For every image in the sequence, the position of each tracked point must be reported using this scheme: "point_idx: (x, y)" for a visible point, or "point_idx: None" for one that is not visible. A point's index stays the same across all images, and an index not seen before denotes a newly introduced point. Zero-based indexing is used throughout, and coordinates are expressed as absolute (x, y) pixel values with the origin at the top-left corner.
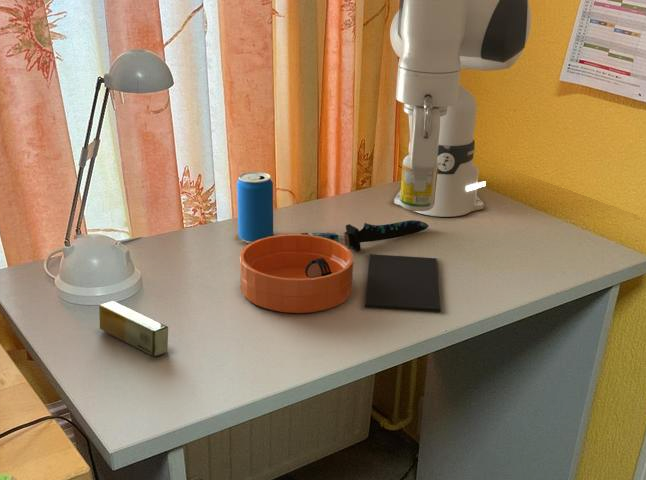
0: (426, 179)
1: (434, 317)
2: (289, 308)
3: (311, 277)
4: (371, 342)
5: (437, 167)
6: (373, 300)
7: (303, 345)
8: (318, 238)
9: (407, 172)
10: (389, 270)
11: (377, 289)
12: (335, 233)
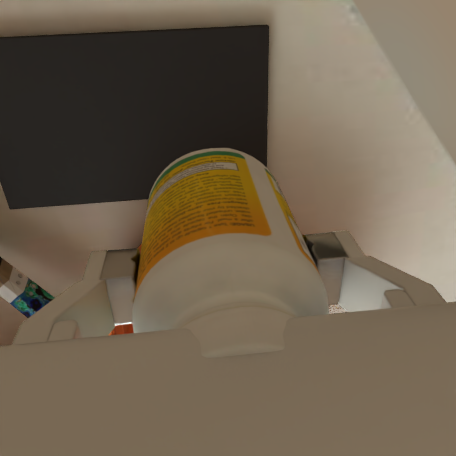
0: (372, 258)
1: (292, 39)
2: None
3: None
4: (397, 160)
5: (263, 235)
6: None
7: (401, 257)
8: (111, 333)
9: None
10: (87, 159)
11: None
12: (12, 302)
